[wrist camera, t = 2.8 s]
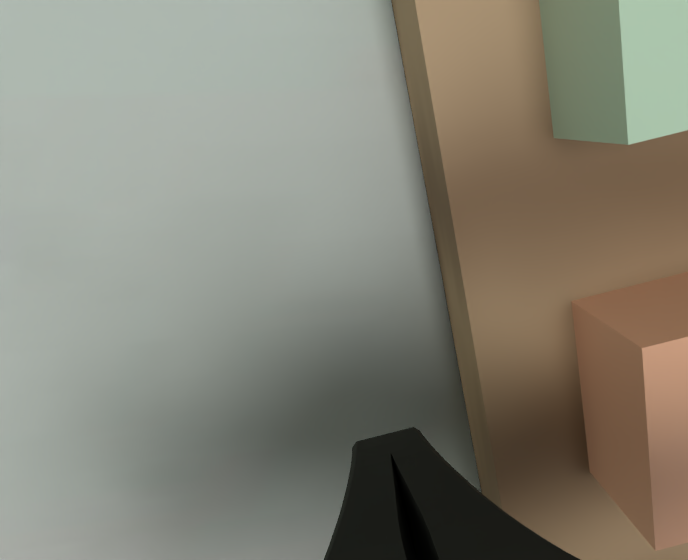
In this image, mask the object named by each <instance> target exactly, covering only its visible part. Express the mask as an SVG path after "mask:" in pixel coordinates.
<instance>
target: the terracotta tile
mask: <svg viewBox="0 0 688 560" xmlns="http://www.w3.org/2000/svg"><path fill="white" fill-rule="evenodd" d="M571 303H572V312H573V321H574V331H575V340H576V349H577V358H578V368H579V377H580V386H581V395H582V405H583V414H584V423H585V433H586V442H587V451H588V460H589V470H590V473H591V474H592V475H593V476H594V478H595V479H596V480H597V481H598V482H599V484H600V485H601V486H602V487H603V488H604V490H605V491H606V492H607V493H608V494H609V496H610V497H611V498H612V499H613V500H614V502H615V503H616V504H617V505H618V506H619V508H620V509H621V510H622V511H623V512H624V514H625V515H626V516H627V517H628V518H629V520H630V521H631V522H632V523H633V524H634V526H635V527H636V528H637V529H638V531H639V532H640V533H641V534H642V535H643V537H644V538H645V539H646V540H647V541H648V543H649V544H650V545H651V546H652V547H653V549H654V550H655V551H657V550H661V549H665V548H669V547H673V546H677V545H681V544H684V543H688V272H685V273H681V274H677V275H673V276H669V277H665V278H661V279H657V280H653V281H649V282H645V283H641V284H637V285H633V286H629V287H625V288H621V289H617V290H613V291H609V292H605V293H601V294H597V295H593V296H589V297H585V298H581V299H577V300H573V301H571Z"/></svg>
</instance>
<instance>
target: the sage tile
mask: <svg viewBox="0 0 688 560" xmlns="http://www.w3.org/2000/svg"><path fill="white" fill-rule="evenodd" d="M539 6H540V15H541V25H542V34H543V43H544V53H545V62H546V71H547V80H548V90H549V99H550V108H551V117H552V127H553V136H554V138H558V139H569V140H580V141H591V142H602V143H614V144H625V145H630V144H634V143H638V142H642V141H646V140H650V139H654V138H658V137H662V136H666V135H670V134H674V133H678V132H682V131H686V130H688V0H539Z"/></svg>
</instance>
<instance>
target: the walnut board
mask: <svg viewBox="0 0 688 560" xmlns="http://www.w3.org/2000/svg"><path fill="white" fill-rule="evenodd" d="M392 6H393V11H394V17H395V22H396V28H397V33H398V39H399V44H400V50H401V55H402V60H403V66H404V71H405V77H406V82H407V88H408V93H409V99H410V104H411V110H412V115H413V120H414V126H415V131H416V137H417V142H418V148H419V153H420V159H421V164H422V170H423V175H424V180H425V186H426V191H427V197H428V202H429V208H430V213H431V219H432V224H433V230H434V235H435V240H436V246H437V251H438V257H439V262H440V268H441V273H442V279H443V284H444V289H445V295H446V300H447V306H448V311H449V317H450V322H451V328H452V333H453V339H454V344H455V349H456V355H457V360H458V366H459V371H460V377H461V382H462V388H463V393H464V399H465V404H466V409H467V415H468V420H469V426H470V431H471V437H472V442H473V448H474V453H475V459H476V464H477V469H478V475H479V480H480V486H481V491H482V494H483V495H484V496H486V497H487V498H488V499H489V500H491V501H492V502H493V503H494V504H496V505H497V506H498V507H499V508H501V509H502V510H503V511H505V512H506V513H507V514H509V515H510V516H511V517H513V518H514V519H516V520H517V521H519V522H520V523H521V524H523V525H524V526H526V527H527V528H529V529H530V530H532V531H533V532H535V533H536V534H538V535H539V536H541V537H543V538H544V539H546V540H547V541H549V542H551V543H552V544H554V545H556V546H557V547H559V548H561V549H562V550H564V551H566V552H567V553H569V554H571V555H573V556H575V557H577V558H579V559H581V560H688V543H684V544H681V545H677V546H673V547H669V548H665V549H661V550H657V551H655V550H654V549H653V547H652V546H651V545H650V544H649V543H648V541H647V540H646V539H645V538H644V537H643V535H642V534H641V533H640V532H639V531H638V529H637V528H636V527H635V526H634V524H633V523H632V522H631V521H630V520H629V518H628V517H627V516H626V515H625V514H624V512H623V511H622V510H621V509H620V508H619V506H618V505H617V504H616V503H615V502H614V500H613V499H612V498H611V497H610V496H609V494H608V493H607V492H606V491H605V490H604V488H603V487H602V486H601V485H600V484H599V482H598V481H597V480H596V479H595V478H594V476H593V475H592V474H591V473H590V470H589V460H588V451H587V442H586V433H585V423H584V414H583V405H582V395H581V386H580V377H579V368H578V358H577V349H576V340H575V331H574V321H573V312H572V303H571V301H573V300H577V299H581V298H585V297H589V296H593V295H597V294H601V293H605V292H609V291H613V290H617V289H621V288H625V287H629V286H633V285H637V284H641V283H645V282H649V281H653V280H657V279H661V278H665V277H669V276H673V275H677V274H681V273H685V272H688V130H686V131H682V132H678V133H674V134H670V135H666V136H662V137H658V138H654V139H650V140H646V141H642V142H638V143H634V144H630V145H625V144H614V143H602V142H591V141H580V140H569V139H558V138H554V136H553V127H552V117H551V108H550V99H549V90H548V80H547V71H546V62H545V53H544V43H543V34H542V25H541V15H540V6H539V0H392Z"/></svg>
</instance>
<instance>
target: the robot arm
mask: <svg viewBox="0 0 688 560" xmlns="http://www.w3.org/2000/svg"><path fill="white" fill-rule="evenodd" d="M324 560H581V559H579V558H577V557H575V556H573V555H571V554H569V553H567V552H566V551H564V550H562V549H561V548H559V547H557V546H556V545H554V544H552V543H551V542H549V541H547V540H546V539H544V538H543V537H541V536H539V535H538V534H536V533H535V532H533V531H532V530H530V529H529V528H527V527H526V526H524V525H523V524H521V523H520V522H519V521H517V520H516V519H514V518H513V517H511V516H510V515H509V514H507V513H506V512H505V511H503V510H502V509H501V508H499V507H498V506H497V505H496V504H494V503H493V502H492V501H491V500H489V499H488V498H487V497H486V496H484V495H483V494H482V493H481V492H479V491H478V490H477V489H476V488H475V487H474V486H472V485H471V484H470V483H469V482H468V481H467V480H466V479H465V478H464V477H462V476H461V475H460V474H459V473H458V472H457V471H456V470H455V469H454V468H453V467H452V466H451V465H450V464H449V463H448V462H446V461H445V459H444V458H443V457H442V456H441V455H440V454H439V453H438V452H437V451H436V450H435V449H434V448H433V447H432V446H431V445H430V443H429V442H428V441H427V440H426V439H425V437H424V436H423V435H422V433H421V432H420V431H419V430H417V429H416V428H414V427H412V428H408V429H404V430H401V431H397V432H393V433H389V434H385V435H381V436H377V437H373V438H369V439H365V440H361V441H358V442H356V443H355V445H354V446H353V448H352V462H351V469H350V474H349V479H348V484H347V489H346V492H345V496H344V500H343V504H342V508H341V511H340V515H339V518H338V521H337V524H336V527H335V530H334V533H333V536H332V539H331V542H330V545H329V547H328V550H327V553H326V555H325V558H324Z"/></svg>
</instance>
